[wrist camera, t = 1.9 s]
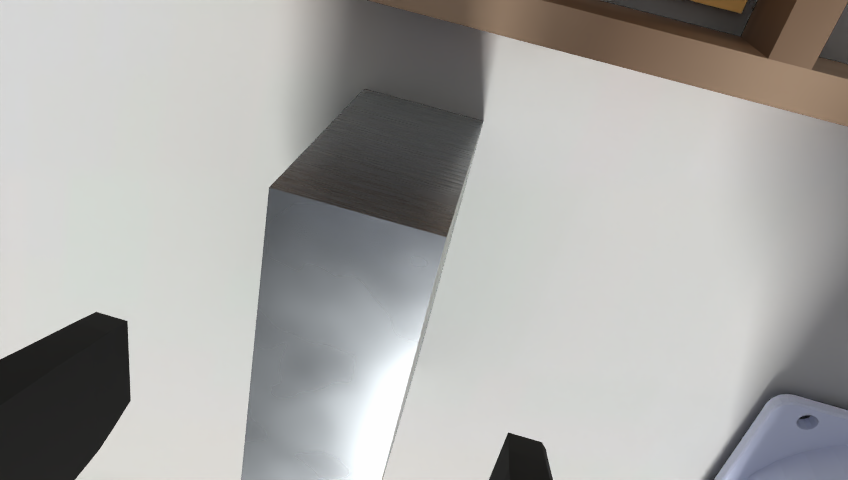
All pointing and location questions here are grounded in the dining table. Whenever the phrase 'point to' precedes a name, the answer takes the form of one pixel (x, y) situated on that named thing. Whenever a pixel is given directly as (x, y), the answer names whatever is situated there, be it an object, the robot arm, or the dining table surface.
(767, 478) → the robot arm
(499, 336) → the dining table surface
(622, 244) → the dining table surface
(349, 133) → the metal block
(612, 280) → the dining table surface
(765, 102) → the slot rack
